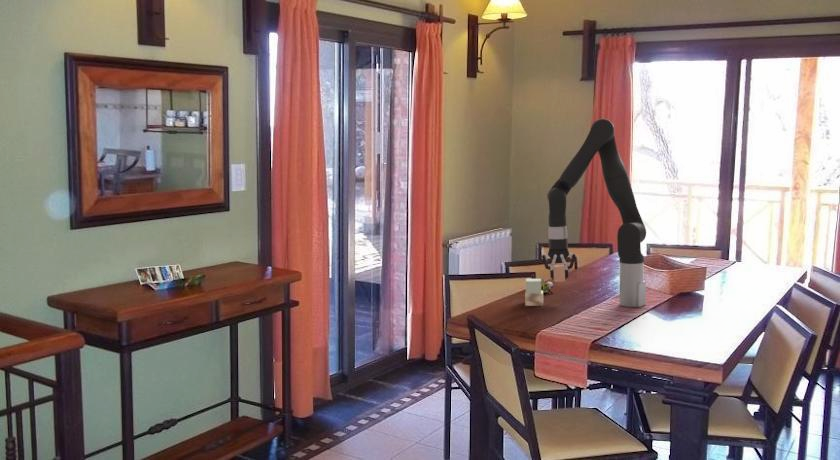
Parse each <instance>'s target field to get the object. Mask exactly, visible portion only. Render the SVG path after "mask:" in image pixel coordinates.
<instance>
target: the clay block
mask: <svg viewBox="0 0 840 460" xmlns="http://www.w3.org/2000/svg"><path fill="white" fill-rule="evenodd" d="M553 270H554V280H553V282H554V283H556V282H557V283H558V282H559V283H561V282H564V283H565V282H566V279H565V266H564V265H563V264H561V265H556V264H554V267H553Z"/></svg>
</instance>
